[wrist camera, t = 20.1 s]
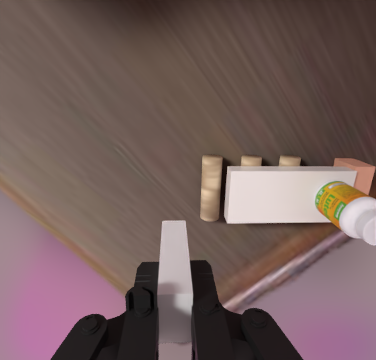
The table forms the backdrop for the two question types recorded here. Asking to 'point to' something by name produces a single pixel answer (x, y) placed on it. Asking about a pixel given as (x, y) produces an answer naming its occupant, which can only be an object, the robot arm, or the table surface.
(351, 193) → the supplement bottle
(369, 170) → the block
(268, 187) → the slab
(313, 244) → the table surface
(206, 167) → the roller bed
